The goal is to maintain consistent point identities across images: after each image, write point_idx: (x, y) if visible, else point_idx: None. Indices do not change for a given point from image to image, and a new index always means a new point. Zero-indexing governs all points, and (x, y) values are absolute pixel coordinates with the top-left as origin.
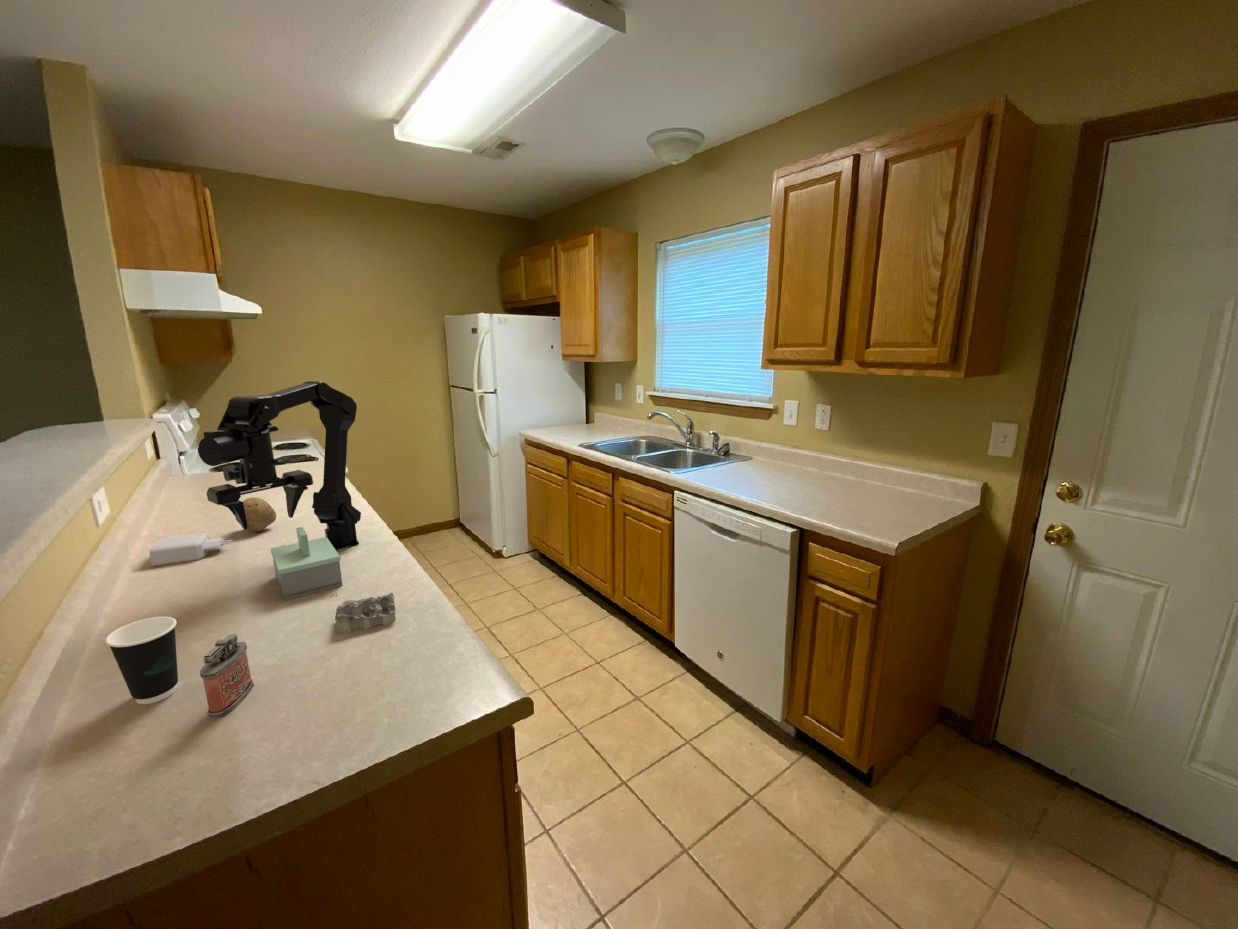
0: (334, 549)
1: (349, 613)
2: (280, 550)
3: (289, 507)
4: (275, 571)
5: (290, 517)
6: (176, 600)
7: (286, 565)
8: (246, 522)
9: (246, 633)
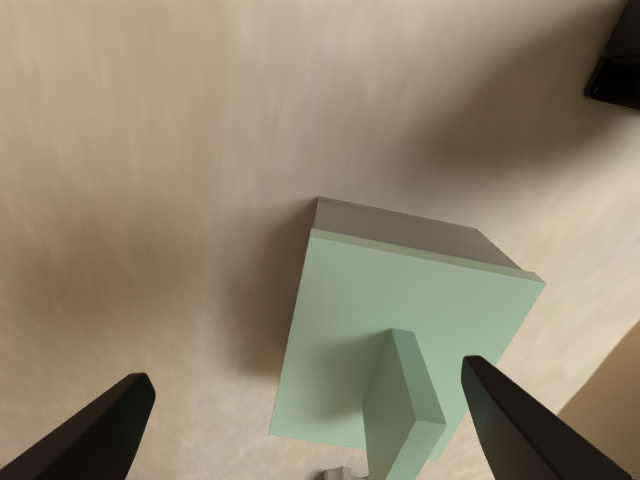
0: (464, 413)
1: (349, 473)
2: (331, 294)
3: (512, 478)
4: (314, 219)
5: (461, 379)
6: (44, 143)
7: (296, 422)
8: (123, 477)
9: (196, 414)
